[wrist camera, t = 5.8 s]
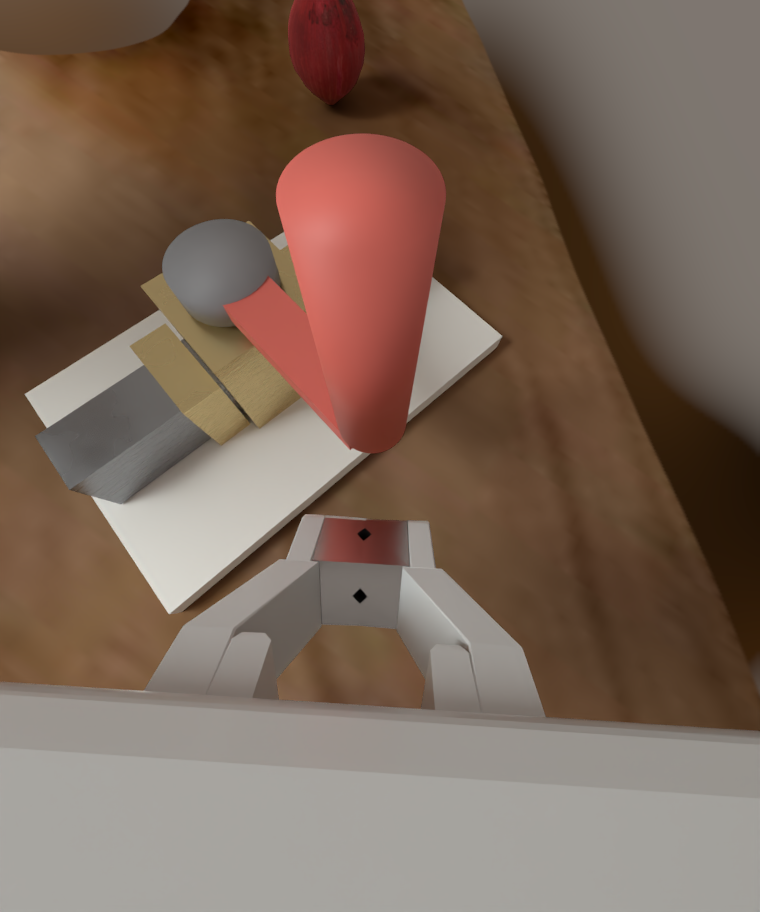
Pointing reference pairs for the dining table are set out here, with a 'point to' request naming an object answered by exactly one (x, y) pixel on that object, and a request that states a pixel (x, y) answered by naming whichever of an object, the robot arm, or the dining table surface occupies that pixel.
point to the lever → (330, 280)
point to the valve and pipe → (170, 400)
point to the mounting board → (245, 457)
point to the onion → (326, 46)
